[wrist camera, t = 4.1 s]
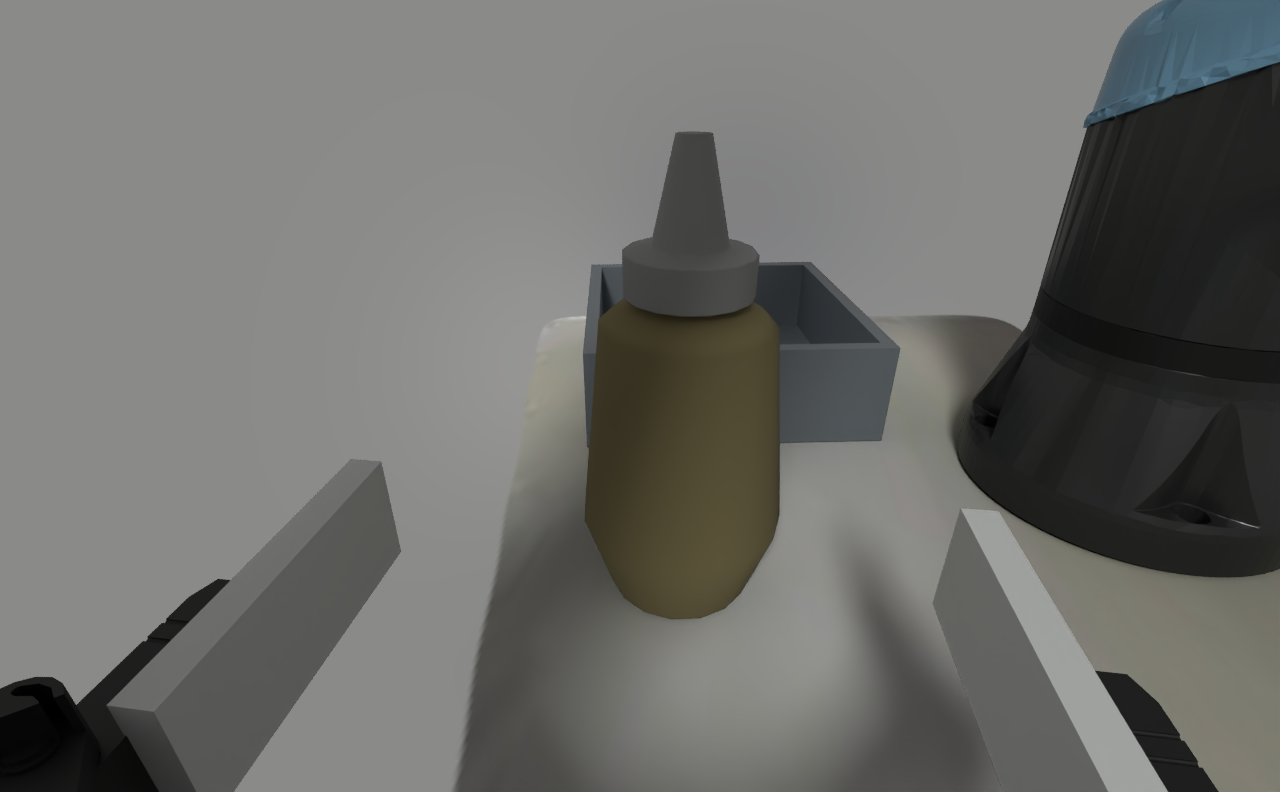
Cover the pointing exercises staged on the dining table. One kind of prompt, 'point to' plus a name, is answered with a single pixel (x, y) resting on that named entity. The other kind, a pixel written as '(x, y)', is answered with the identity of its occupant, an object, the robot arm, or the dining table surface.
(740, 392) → the squeeze bottle
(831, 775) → the dining table surface
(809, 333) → the box
